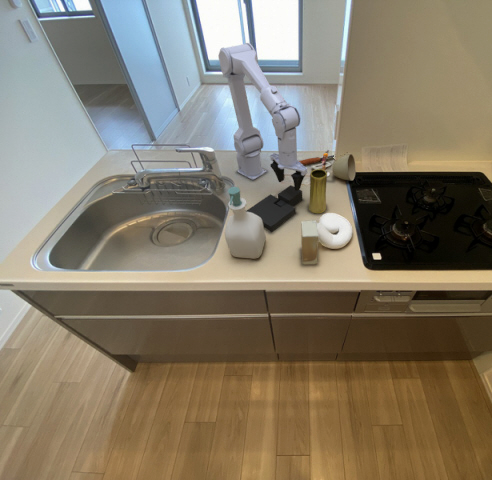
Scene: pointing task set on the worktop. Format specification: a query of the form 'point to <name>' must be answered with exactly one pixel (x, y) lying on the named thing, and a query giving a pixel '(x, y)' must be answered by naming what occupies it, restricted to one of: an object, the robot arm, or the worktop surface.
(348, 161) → the cup
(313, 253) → the cosmetic box
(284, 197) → the black block with stub
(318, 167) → the soap
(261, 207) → the base pad
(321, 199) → the vase
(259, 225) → the soap bottle
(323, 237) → the sculpture
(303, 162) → the knife
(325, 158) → the action figure
